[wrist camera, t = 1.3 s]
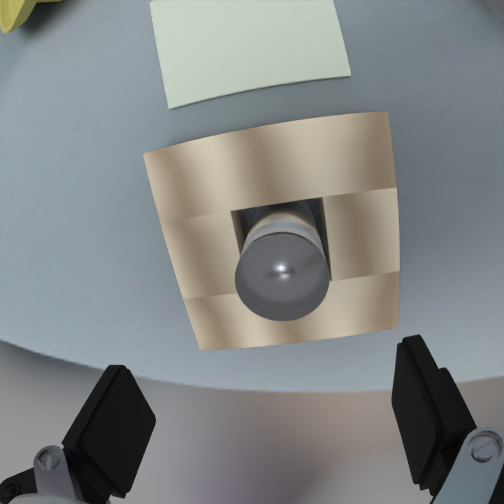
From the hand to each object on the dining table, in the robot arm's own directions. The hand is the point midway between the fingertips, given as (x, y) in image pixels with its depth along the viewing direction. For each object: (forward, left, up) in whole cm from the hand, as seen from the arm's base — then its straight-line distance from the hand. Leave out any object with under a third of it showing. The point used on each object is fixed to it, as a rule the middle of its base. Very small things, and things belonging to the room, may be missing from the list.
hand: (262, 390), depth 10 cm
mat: (-1, -16, -18) cm, 24 cm away
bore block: (0, 0, -18) cm, 18 cm away
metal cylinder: (0, 0, -18) cm, 18 cm away
